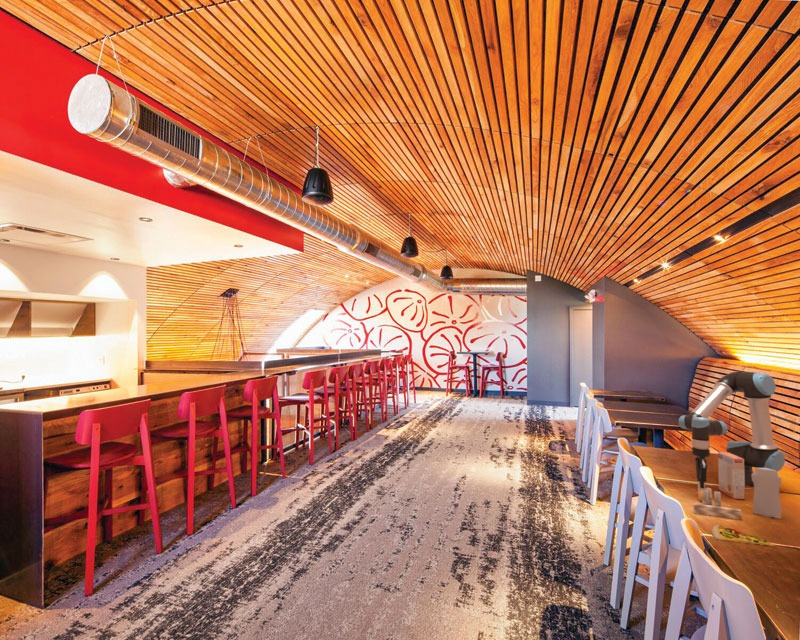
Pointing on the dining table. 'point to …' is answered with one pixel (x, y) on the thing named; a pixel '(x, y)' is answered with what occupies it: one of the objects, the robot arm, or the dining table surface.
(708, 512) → the back wall
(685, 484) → the dining table surface
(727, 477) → the cracker box
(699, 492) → the ball
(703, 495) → the pin
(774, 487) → the tall pale column
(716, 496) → the pin
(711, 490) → the front pin
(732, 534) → the pizza slice
